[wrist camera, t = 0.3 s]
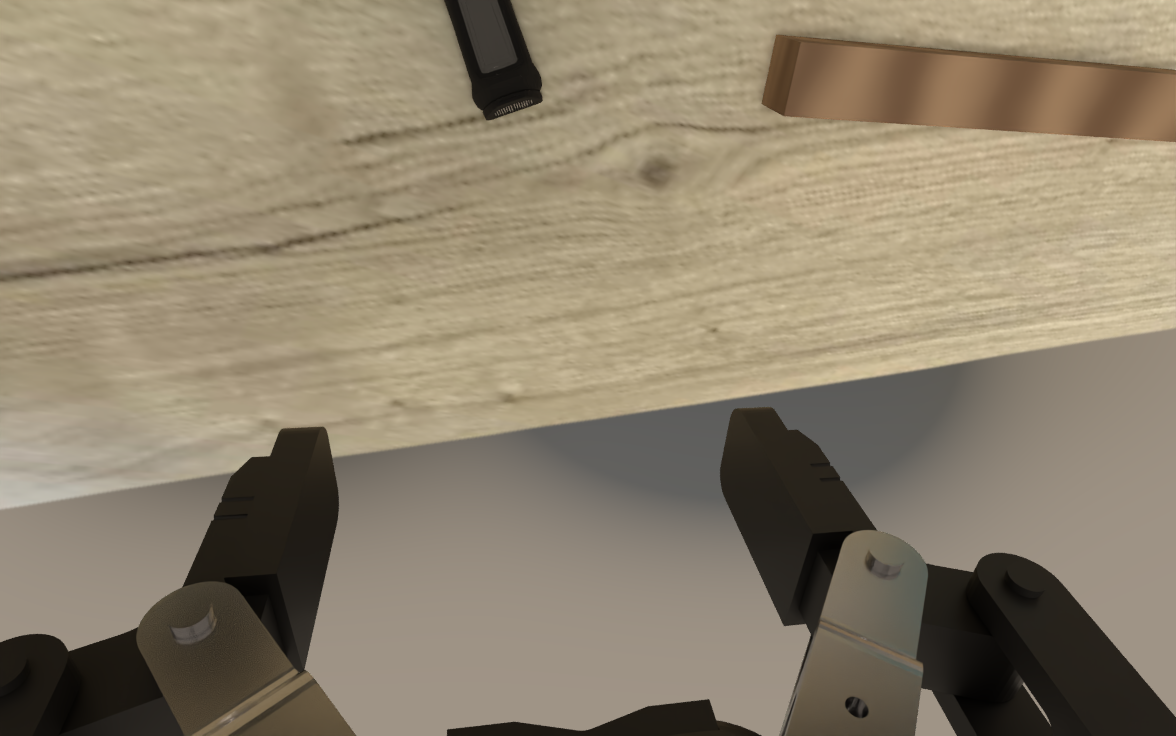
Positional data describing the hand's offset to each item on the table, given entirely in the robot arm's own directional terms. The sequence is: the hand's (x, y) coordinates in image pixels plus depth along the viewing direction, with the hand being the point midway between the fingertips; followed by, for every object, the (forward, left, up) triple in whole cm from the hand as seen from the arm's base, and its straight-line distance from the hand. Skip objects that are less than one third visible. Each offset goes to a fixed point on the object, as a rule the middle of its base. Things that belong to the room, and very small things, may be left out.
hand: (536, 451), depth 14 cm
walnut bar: (-5, +28, -29) cm, 41 cm away
